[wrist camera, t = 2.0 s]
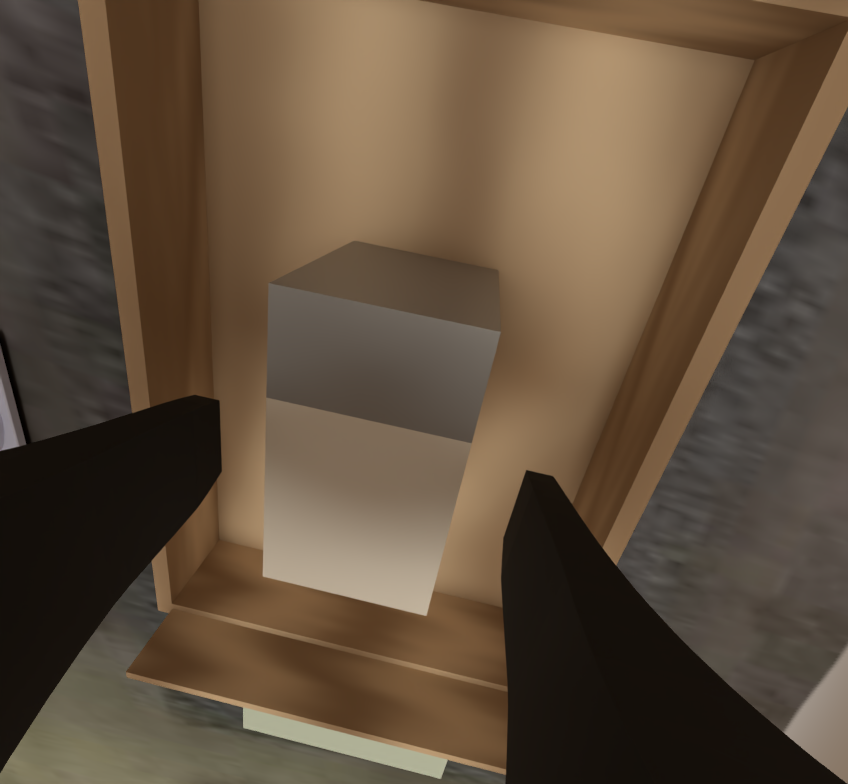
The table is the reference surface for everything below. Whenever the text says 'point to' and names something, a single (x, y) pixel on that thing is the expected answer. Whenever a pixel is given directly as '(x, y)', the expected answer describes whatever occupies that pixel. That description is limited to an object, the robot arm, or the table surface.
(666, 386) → the wooden crate
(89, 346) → the table surface
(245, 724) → the panel
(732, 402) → the table surface
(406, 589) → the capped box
